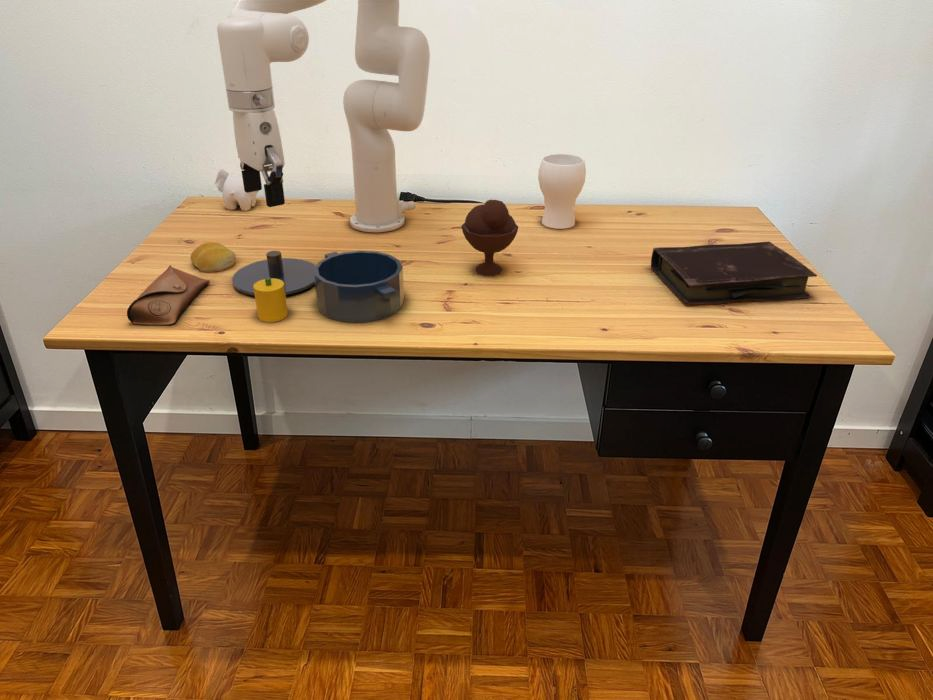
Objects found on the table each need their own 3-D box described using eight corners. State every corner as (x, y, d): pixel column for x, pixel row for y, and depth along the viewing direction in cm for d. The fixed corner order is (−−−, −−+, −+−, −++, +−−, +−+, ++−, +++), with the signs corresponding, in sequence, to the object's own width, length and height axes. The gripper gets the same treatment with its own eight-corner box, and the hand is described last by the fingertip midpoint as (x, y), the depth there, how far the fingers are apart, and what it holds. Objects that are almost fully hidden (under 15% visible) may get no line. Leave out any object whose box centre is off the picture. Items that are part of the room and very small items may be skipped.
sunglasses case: (176, 323, 125) (149, 292, 122) (146, 340, 127) (119, 311, 124) (212, 279, 140) (189, 251, 138) (184, 295, 142) (161, 268, 140)
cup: (588, 221, 171) (594, 157, 164) (568, 234, 163) (574, 169, 156) (548, 212, 176) (552, 150, 168) (527, 225, 168) (530, 161, 161)
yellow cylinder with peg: (280, 305, 132) (275, 269, 128) (293, 316, 129) (288, 279, 125) (253, 313, 129) (247, 277, 126) (265, 325, 126) (259, 287, 122)
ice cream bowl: (521, 263, 149) (525, 193, 142) (506, 285, 140) (509, 211, 133) (472, 256, 152) (473, 186, 145) (454, 277, 143) (454, 204, 136)
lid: (296, 256, 151) (293, 231, 148) (335, 284, 140) (333, 256, 137) (219, 276, 143) (214, 249, 140) (254, 307, 131) (250, 279, 128)
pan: (367, 273, 145) (365, 240, 141) (428, 312, 130) (427, 276, 127) (296, 293, 136) (291, 259, 133) (352, 337, 122) (349, 300, 119)
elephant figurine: (271, 199, 183) (267, 164, 178) (251, 215, 173) (245, 178, 168) (236, 196, 184) (230, 161, 180) (213, 212, 174) (207, 176, 169)
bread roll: (205, 276, 143) (201, 257, 141) (186, 262, 148) (183, 244, 146) (244, 265, 147) (241, 247, 145) (225, 252, 153) (221, 234, 151)
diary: (649, 267, 148) (652, 244, 146) (762, 261, 152) (768, 238, 149) (686, 309, 132) (691, 284, 130) (812, 300, 136) (819, 276, 133)
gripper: (294, 105, 117) (305, 207, 126) (251, 88, 129) (264, 182, 138) (250, 111, 113) (264, 215, 122) (210, 93, 125) (226, 189, 134)
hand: (264, 198), depth 130 cm, fingers open, 9 cm apart
